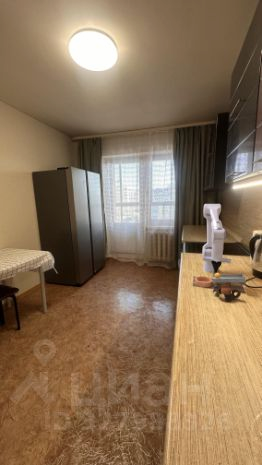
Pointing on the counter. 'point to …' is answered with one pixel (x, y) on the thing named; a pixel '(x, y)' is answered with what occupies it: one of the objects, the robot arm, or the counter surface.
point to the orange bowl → (203, 281)
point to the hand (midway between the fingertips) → (215, 273)
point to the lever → (230, 278)
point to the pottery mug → (227, 293)
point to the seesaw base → (232, 284)
